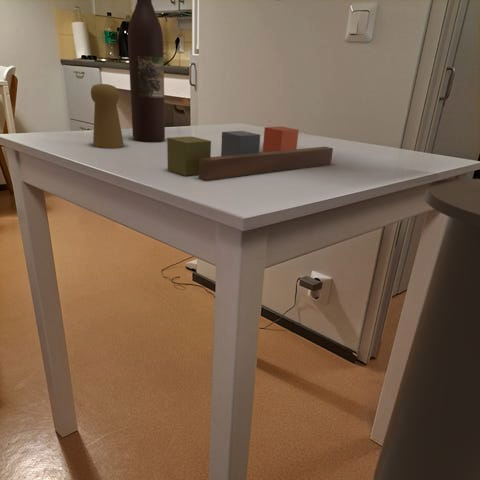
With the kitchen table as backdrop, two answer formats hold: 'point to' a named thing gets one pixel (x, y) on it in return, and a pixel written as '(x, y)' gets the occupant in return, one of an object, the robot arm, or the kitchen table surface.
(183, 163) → the olive block
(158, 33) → the wine bottle
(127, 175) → the kitchen table surface
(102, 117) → the cork
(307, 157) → the straightedge
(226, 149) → the slate-blue block
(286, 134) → the terracotta block
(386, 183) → the kitchen table surface
